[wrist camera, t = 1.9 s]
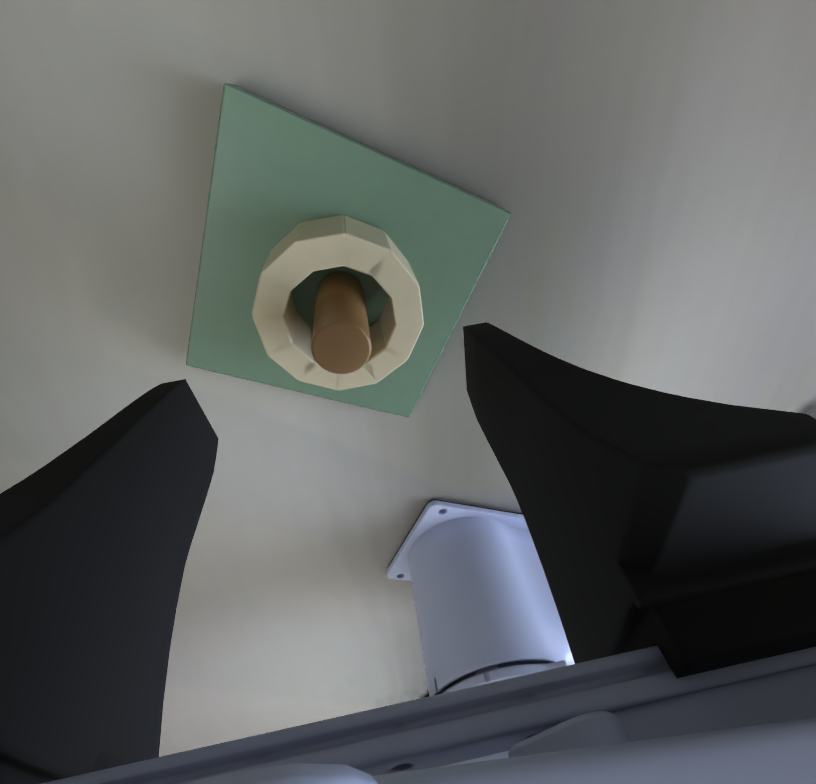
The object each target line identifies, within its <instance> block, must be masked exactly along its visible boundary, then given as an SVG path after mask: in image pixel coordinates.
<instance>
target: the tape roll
mask: <svg viewBox="0 0 816 784" xmlns="http://www.w3.org/2000/svg"><path fill="white" fill-rule="evenodd" d="M341 266H345V267H348V268H351V269H354V270H357V271H359V272H362V273H365V274H368V275H371V276H372V277H373V278H374V279H375V280H376V281H377V282H378V283H379V285H380V286H381V287H382V288H383V289H384V290H385V292H386V293H387V294H388V300H387V302H386V305H385V307H384V310H383V312H382V315H381V317H380V319H379V320H378V321H377V322H376V323H374V324H373V325H372V326H371V327H369V332H370V339H371V346H372V350H371V355H370V357H369V359H368V361H367V362H366V363H365V365H364V366H363V367H361V368H360V369H359V370H357V371H355V372H352V373H348V374H336V373H332V372H329V371H327V370H325V369H323V368H322V367H321V366H320V365H319V364H318V363H317V362H316V361H315V359H314V357H313V355H312V351H311V341H312V332H313V327H311V326H310V325H309V324H308V323H307V322H306V321H305V320H304V319H303V318H302V317H301V316H300V315H299V314H298V313H297V310H296V307H295V303H294V300H293V297H292V294H291V291H292V290H293V289H294V288H295V287H296V286H297V285H298V284H299V283H301V282H302V281H303V280H304V279H305V278H306V277H307V276H309V275H310V274H311V273H312V272H313V271H318V270H324V269H329V268H335V267H341ZM252 318H253V320H254V323H255V326H256V328H257V331H258V333H259V336H260V338H261V341H262V343H263V346H264V349H265V351H266V353H267V355H268V356H269V357H270V358H271V359H272V360H273V361H275V362H276V363H277V364H278V365H280V366H281V367H282V368H283V369H284V370H286V371H287V372H288V373H289V374H291V375H292V376H293V377H294V378H295V379H297V380H298V381H301V382H305V383H309V384H313V385H317V386H321V387H325V388H329V389H334V390H339V391H340V390H345V389H351V388H356V387H361V386H366V385H372V384H376V383H377V382H379V381H380V380H382V379H383V378H384V377H386V376H387V375H388V374H390V373H391V372H392V371H394V370H395V369H397V368H398V367H399V366H401V365H402V364H403V363H405V362H406V361H407V360H408V359H409V356H410V354H411V352H412V350H413V348H414V346H415V343H416V341H417V339H418V337H419V335H420V332H421V330H422V328H423V325H424V320H423V312H422V303H421V295H420V287H419V284H418V282H417V279H416V277H415V275H414V273H413V271H412V269H411V266H410V264H409V262H408V260H407V259H406V258H405V257H404V255H403V254H402V253H401V252H400V250H399V249H398V248H397V246H396V245H395V244H394V243H393V241H392V240H391V239H390V238H389V236H388V235H387V234H386V232H385V231H383V230H381V229H379V228H376V227H374V226H371V225H368V224H366V223H363V222H361V221H358V220H356V219H353V218H351V217H348V216H343V215H338V216H333V217H327V218H321V219H315V220H310V221H304V222H301V223H299V224H298V225H297V226H296V227H295V228H294V229H293V230H292V231H291V232H289V233H288V234H287V235H286V236H285V237H284V238H283V239H282V240H281V241H280V242H279V243H278V244H277V245H276V246H275V247H273V248H272V249H271V251H270V254H269V256H268V258H267V260H266V263H265V265H264V267H263V269H262V271H261V274H260V277H259V282H258V287H257V291H256V296H255V300H254V305H253V310H252Z"/></svg>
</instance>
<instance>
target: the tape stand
mask: <svg viewBox="0 0 816 784" xmlns="http://www.w3.org/2000/svg"><path fill="white" fill-rule="evenodd" d="M338 215H343V216H348V217H351V218H353V219H356V220H358V221H361V222H363V223H366V224H368V225H371V226H374V227H376V228H379V229H381V230H383V231H385V232H386V234H387V235H388V236H389V238H390V239H391V240H392V241H393V243H394V244H395V245H396V246H397V248H398V249H399V250H400V252H401V253H402V254H403V255H404V257H405V258H406V259H407V260H408V262H409V264H410V266H411V269H412V271H413V273H414V275H415V277H416V279H417V282H418V284H419V287H420V295H421V303H422V312H423V320H424V325H423V328H422V330H421V332H420V335H419V337H418V339H417V341H416V343H415V346H414V348H413V350H412V352H411V354H410V356H409V359H408V360H407V361H406V362H405V363H403V364H402V365H401V366H399V367H398V368H397V369H395V370H394V371H392V372H391V373H390V374H388V375H387V376H386V377H384V378H383V379H382V380H380V381H379V382H377V383H376V384H372V385H366V386H361V387H356V388H351V389H345V390H340V391H339V390H334V389H329V388H325V387H321V386H317V385H313V384H309V383H305V382H301V381H298V380H297V379H295V378H294V377H293V376H292V375H291V374H289V373H288V372H287V371H286V370H284V369H283V368H282V367H281V366H280V365H278V364H277V363H276V362H275V361H273V360H272V359H271V358H270V357H269V356H268V355H267V353H266V351H265V349H264V346H263V343H262V341H261V338H260V336H259V333H258V331H257V328H256V326H255V323H254V320H253V318H252V310H253V305H254V300H255V296H256V291H257V287H258V282H259V277H260V274H261V271H262V269H263V267H264V265H265V263H266V260H267V258H268V256H269V254H270V251H271V249H272V248H273V247H275V246H276V245H277V244H278V243H279V242H280V241H281V240H282V239H283V238H284V237H285V236H286V235H287V234H288V233H289V232H291V231H292V230H293V229H294V228H295V227H296V226H297V225H298V224H299V223H301V222H304V221H310V220H315V219H321V218H327V217H333V216H338ZM510 215H511V213H510V212H508V211H507V210H505V209H503V208H502V207H500V206H497V205H495V204H493V203H491V202H489V201H486V200H484V199H482V198H480V197H478V196H476V195H473V194H471V193H469V192H467V191H465V190H462V189H460V188H458V187H456V186H454V185H451V184H449V183H447V182H445V181H443V180H441V179H438V178H436V177H434V176H432V175H430V174H427V173H425V172H423V171H421V170H419V169H417V168H414V167H412V166H410V165H408V164H406V163H403V162H401V161H399V160H397V159H395V158H392V157H390V156H388V155H386V154H384V153H382V152H379V151H377V150H375V149H373V148H371V147H368V146H366V145H364V144H362V143H360V142H357V141H355V140H353V139H351V138H349V137H347V136H344V135H342V134H340V133H338V132H336V131H333V130H331V129H329V128H327V127H325V126H323V125H320V124H318V123H316V122H314V121H312V120H309V119H307V118H305V117H303V116H301V115H298V114H296V113H294V112H292V111H290V110H288V109H285V108H283V107H281V106H279V105H277V104H274V103H272V102H270V101H268V100H266V99H263V98H261V97H259V96H257V95H255V94H253V93H250V92H248V91H246V90H244V89H242V88H239V87H237V86H235V85H233V84H227V83H225V84H224V89H223V97H222V104H221V111H220V119H219V126H218V133H217V141H216V148H215V155H214V163H213V170H212V177H211V185H210V192H209V199H208V207H207V214H206V221H205V229H204V236H203V243H202V251H201V258H200V265H199V273H198V280H197V287H196V295H195V302H194V309H193V317H192V324H191V331H190V339H189V346H188V353H187V361H186V365H187V366H192V367H196V368H200V369H204V370H209V371H213V372H217V373H221V374H225V375H230V376H234V377H238V378H242V379H247V380H251V381H255V382H259V383H264V384H268V385H272V386H276V387H281V388H285V389H289V390H293V391H298V392H302V393H306V394H310V395H315V396H319V397H323V398H327V399H332V400H336V401H340V402H344V403H349V404H353V405H357V406H361V407H366V408H370V409H374V410H378V411H383V412H387V413H391V414H395V415H400V416H404V417H410V415H411V413H412V411H413V409H414V407H415V405H416V403H417V401H418V399H419V397H420V395H421V393H422V391H423V389H424V387H425V385H426V383H427V381H428V379H429V377H430V375H431V373H432V371H433V369H434V367H435V365H436V363H437V361H438V359H439V357H440V355H441V353H442V351H443V349H444V347H445V345H446V343H447V341H448V339H449V337H450V335H451V333H452V331H453V329H454V327H455V325H456V323H457V321H458V319H459V317H460V315H461V313H462V311H463V309H464V307H465V305H466V303H467V301H468V299H469V297H470V295H471V293H472V291H473V289H474V287H475V285H476V283H477V281H478V279H479V277H480V275H481V273H482V271H483V269H484V267H485V265H486V263H487V261H488V259H489V257H490V255H491V253H492V251H493V249H494V247H495V245H496V243H497V241H498V239H499V237H500V235H501V233H502V231H503V229H504V227H505V225H506V223H507V221H508V219H509V217H510ZM291 294H292V297H293V300H294V303H295V307H296V310H297V313H298V314H299V315H300V316H301V317H302V318H303V319H304V320H305V321H306V322H307V323H308V324H309V325H310V326H311V327H313V332H312V341H311V351H312V355H313V357H314V359H315V361H316V362H317V363H318V364H319V365H320V366H321V367H322V368H323V369H325V370H327V371H329V372H332V373H336V374H348V373H352V372H355V371H357V370H359V369H360V368H361V367H363V366H364V365H365V363H366V362H367V361H368V359H369V357H370V355H371V350H372V346H371V339H370V332H369V327H371V326H372V325H373V324H374V323H376V322H377V321H378V320H379V319H380V317H381V315H382V312H383V310H384V307H385V305H386V302H387V300H388V294H387V293H386V292H385V290H384V289H383V288H382V287H381V286H380V285H379V283H378V282H377V281H376V280H375V279H374V278H373V277H372V276H371V275H368V274H365V273H362V272H359V271H357V270H354V269H351V268H348V267H345V266H341V267H335V268H329V269H324V270H318V271H313V272H312V273H311V274H310V275H309V276H307V277H306V278H305V279H304V280H303V281H302V282H301V283H299V284H298V285H297V286H296V287H295V288H294V289H293V290H292V291H291Z"/></svg>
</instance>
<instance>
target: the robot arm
mask: <svg viewBox="0 0 816 784" xmlns="http://www.w3.org/2000/svg"><path fill="white" fill-rule="evenodd" d="M463 331H464V348H465V365H466V382H467V392H468V395H469V398H470V401H471V404H472V407H473V409H474V412H475V415H476V418H477V420H478V422H479V424H480V426H481V428H482V430H483V432H484V434H485V436H486V438H487V440H488V442H489V444H490V446H491V448H492V450H493V452H494V454H495V456H496V458H497V460H498V462H499V464H500V465H501V467H502V469H503V471H504V473H505V475H506V477H507V479H508V481H509V483H510V485H511V487H512V489H513V492H514V494H515V496H516V498H517V500H518V503H519V506H520V508H521V511H522V513H523V515H521V514H515V513H509V512H503V511H497V510H491V509H485V508H479V507H473V506H467V505H461V504H455V503H449V502H443V501H435V500H434V501H431V502H429V503H428V504H427V505H426V507H425V509H424V510H423V512H422V514H421V515H420V517H419V519H418V520H417V522H416V523H415V525H414V527H413V528H412V530H411V532H410V533H409V535H408V536H407V538H406V540H405V541H404V543H403V545H402V546H401V548H400V549H399V551H398V553H397V554H396V556H395V558H394V559H393V561H392V562H391V564H390V566H389V567H388V569H387V571H386V574H387V577H388V578H389V579H395V580H406V581H412V588H413V594H414V600H415V607H416V613H417V619H418V626H419V632H420V638H421V645H422V651H423V657H424V664H425V670H426V676H427V683H428V689H429V695H430V697H425V698H421V699H416V700H412V701H407V702H403V703H398V704H394V705H390V706H385V707H381V708H376V709H372V710H367V711H363V712H358V713H354V714H349V715H345V716H340V717H336V718H332V719H327V720H323V721H318V722H314V723H309V724H305V725H300V726H296V727H291V728H287V729H282V730H278V731H274V732H269V733H265V734H260V735H256V736H251V737H247V738H242V739H238V740H233V741H229V742H224V743H220V744H216V745H211V746H207V747H202V748H198V749H193V750H189V751H184V752H180V753H175V754H171V755H166V756H162V757H159V745H160V734H161V722H162V710H163V699H164V691H165V683H166V675H167V667H168V659H169V651H170V644H171V638H172V632H173V626H174V620H175V613H176V607H177V602H178V597H179V592H180V587H181V582H182V577H183V572H184V567H185V563H186V560H187V556H188V552H189V549H190V546H191V542H192V539H193V536H194V533H195V530H196V527H197V524H198V521H199V517H200V514H201V511H202V508H203V505H204V502H205V499H206V496H207V492H208V489H209V486H210V482H211V479H212V476H213V472H214V466H215V460H216V453H217V445H218V437H217V436H216V434H215V432H214V430H213V428H212V427H211V425H210V423H209V421H208V419H207V418H206V416H205V414H204V412H203V410H202V409H201V407H200V405H199V403H198V401H197V400H196V398H195V396H194V394H193V392H192V391H191V389H190V387H189V385H188V383H187V382H186V380H185V379H184V380H179V381H173V382H168V383H163V384H160V385H158V386H156V387H155V388H153V389H151V390H150V391H148V392H147V393H145V394H144V395H142V396H141V397H139V398H138V399H136V400H135V401H134V402H132V403H131V404H130V405H128V406H127V407H125V408H124V409H123V410H121V411H120V412H119V413H117V414H116V415H115V416H113V417H112V418H111V419H109V420H108V421H107V422H105V423H104V424H103V425H101V426H100V427H99V428H97V429H96V430H95V431H93V432H92V433H91V434H89V435H88V436H86V437H85V438H84V439H82V440H81V441H79V442H78V443H77V444H75V445H74V446H72V447H71V448H69V449H68V450H67V451H65V452H64V453H62V454H61V455H60V456H58V457H57V458H55V459H54V460H52V461H51V462H50V463H48V464H47V465H45V466H44V467H42V468H41V469H39V470H38V471H36V472H35V473H33V474H32V475H30V476H28V477H27V478H25V479H24V480H22V481H21V482H19V483H17V484H16V485H14V486H12V487H11V488H9V489H8V490H6V491H4V492H3V493H1V494H0V784H816V419H814V418H813V417H811V416H809V415H807V414H802V413H794V412H785V411H777V410H768V409H760V408H751V407H743V406H734V405H728V404H722V403H716V402H710V401H704V400H699V399H693V398H687V397H682V396H678V395H673V394H668V393H663V392H659V391H655V390H651V389H647V388H643V387H639V386H635V385H632V384H628V383H625V382H621V381H618V380H614V379H611V378H608V377H605V376H603V375H600V374H597V373H594V372H591V371H588V370H585V369H582V368H580V367H577V366H575V365H572V364H570V363H568V362H565V361H563V360H561V359H558V358H556V357H554V356H552V355H550V354H547V353H545V352H543V351H541V350H539V349H537V348H535V347H533V346H531V345H529V344H527V343H525V342H523V341H521V340H520V339H518V338H516V337H514V336H512V335H510V334H508V333H507V332H505V331H503V330H501V329H499V328H497V327H495V326H493V325H491V324H489V323H481V324H475V325H470V326H465V327H463Z"/></svg>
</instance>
